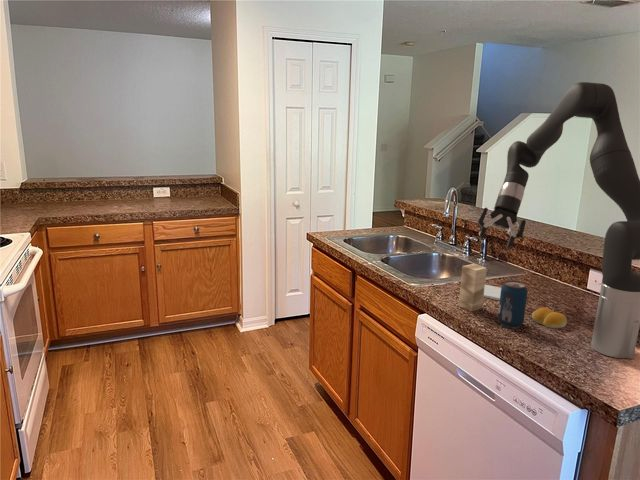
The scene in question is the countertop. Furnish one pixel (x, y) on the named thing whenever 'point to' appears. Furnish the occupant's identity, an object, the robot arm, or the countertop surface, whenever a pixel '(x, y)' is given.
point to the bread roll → (549, 318)
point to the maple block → (472, 287)
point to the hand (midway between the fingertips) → (494, 243)
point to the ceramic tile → (492, 292)
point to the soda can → (512, 304)
